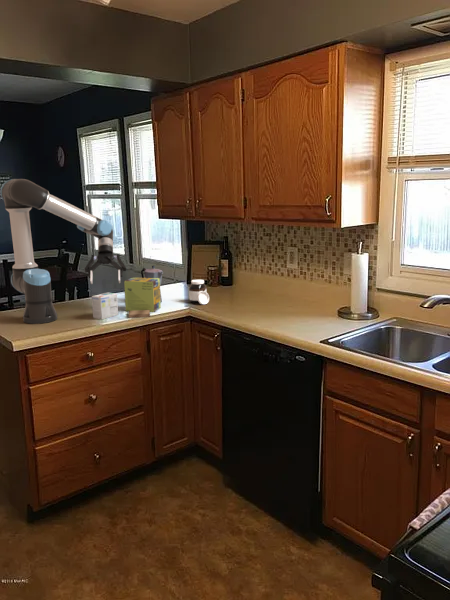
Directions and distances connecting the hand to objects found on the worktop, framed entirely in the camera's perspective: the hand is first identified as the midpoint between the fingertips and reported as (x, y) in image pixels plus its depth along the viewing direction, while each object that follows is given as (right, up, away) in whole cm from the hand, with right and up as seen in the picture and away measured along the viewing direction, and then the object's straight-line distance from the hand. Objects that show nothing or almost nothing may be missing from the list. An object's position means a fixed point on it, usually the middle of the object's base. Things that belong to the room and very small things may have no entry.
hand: (105, 282), depth 260 cm
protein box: (+18, -14, +6) cm, 23 cm away
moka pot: (+20, -10, +22) cm, 32 cm away
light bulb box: (+2, -17, -7) cm, 18 cm away
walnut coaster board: (+18, -16, -6) cm, 25 cm away
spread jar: (+46, -10, +20) cm, 51 cm away
